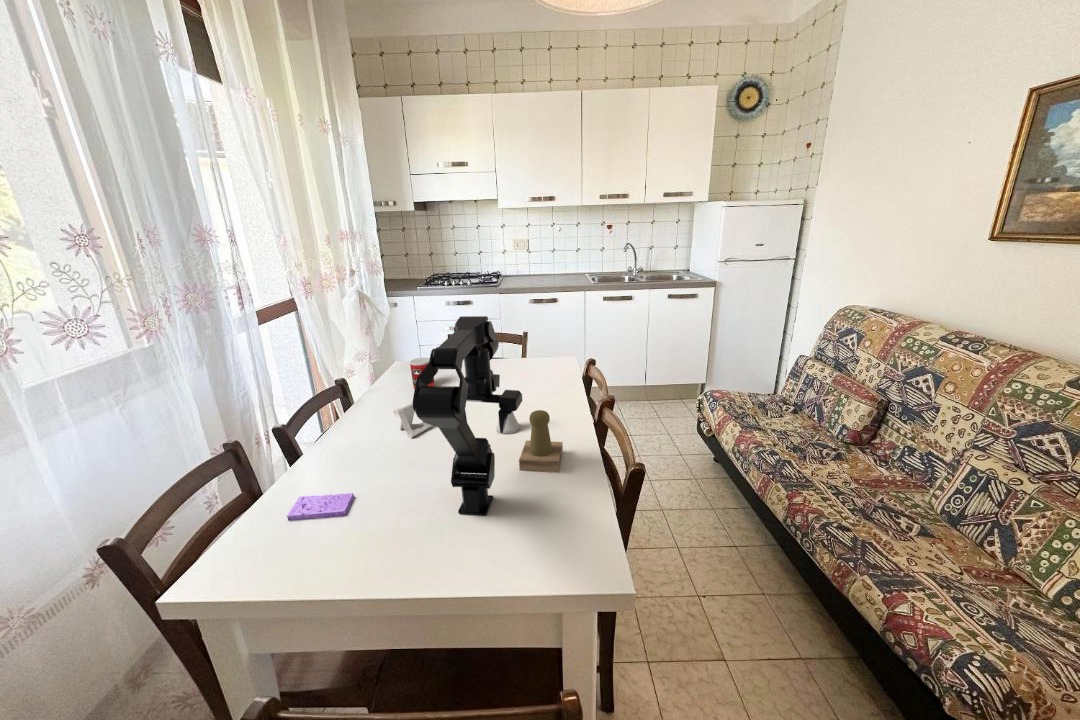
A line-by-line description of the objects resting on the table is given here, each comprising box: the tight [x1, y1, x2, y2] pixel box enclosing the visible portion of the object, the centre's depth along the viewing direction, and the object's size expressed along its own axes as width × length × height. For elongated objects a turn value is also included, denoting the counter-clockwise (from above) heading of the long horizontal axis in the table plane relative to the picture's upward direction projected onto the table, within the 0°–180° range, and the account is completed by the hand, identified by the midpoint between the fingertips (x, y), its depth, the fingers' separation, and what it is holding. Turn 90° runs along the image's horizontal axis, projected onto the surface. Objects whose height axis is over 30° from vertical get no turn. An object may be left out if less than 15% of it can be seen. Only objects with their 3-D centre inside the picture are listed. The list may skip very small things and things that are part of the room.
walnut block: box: [518, 440, 564, 473], centre depth 115 cm, size 10×10×3 cm
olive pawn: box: [529, 409, 552, 457], centre depth 113 cm, size 6×6×11 cm
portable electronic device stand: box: [392, 400, 434, 439], centre depth 134 cm, size 9×8×8 cm
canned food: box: [409, 357, 436, 390], centre depth 167 cm, size 8×8×11 cm
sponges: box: [286, 492, 355, 521], centre depth 100 cm, size 7×13×2 cm, turn 95°
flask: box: [496, 411, 520, 435], centre depth 132 cm, size 7×7×10 cm
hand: (483, 430), depth 105 cm, fingers open, 9 cm apart
